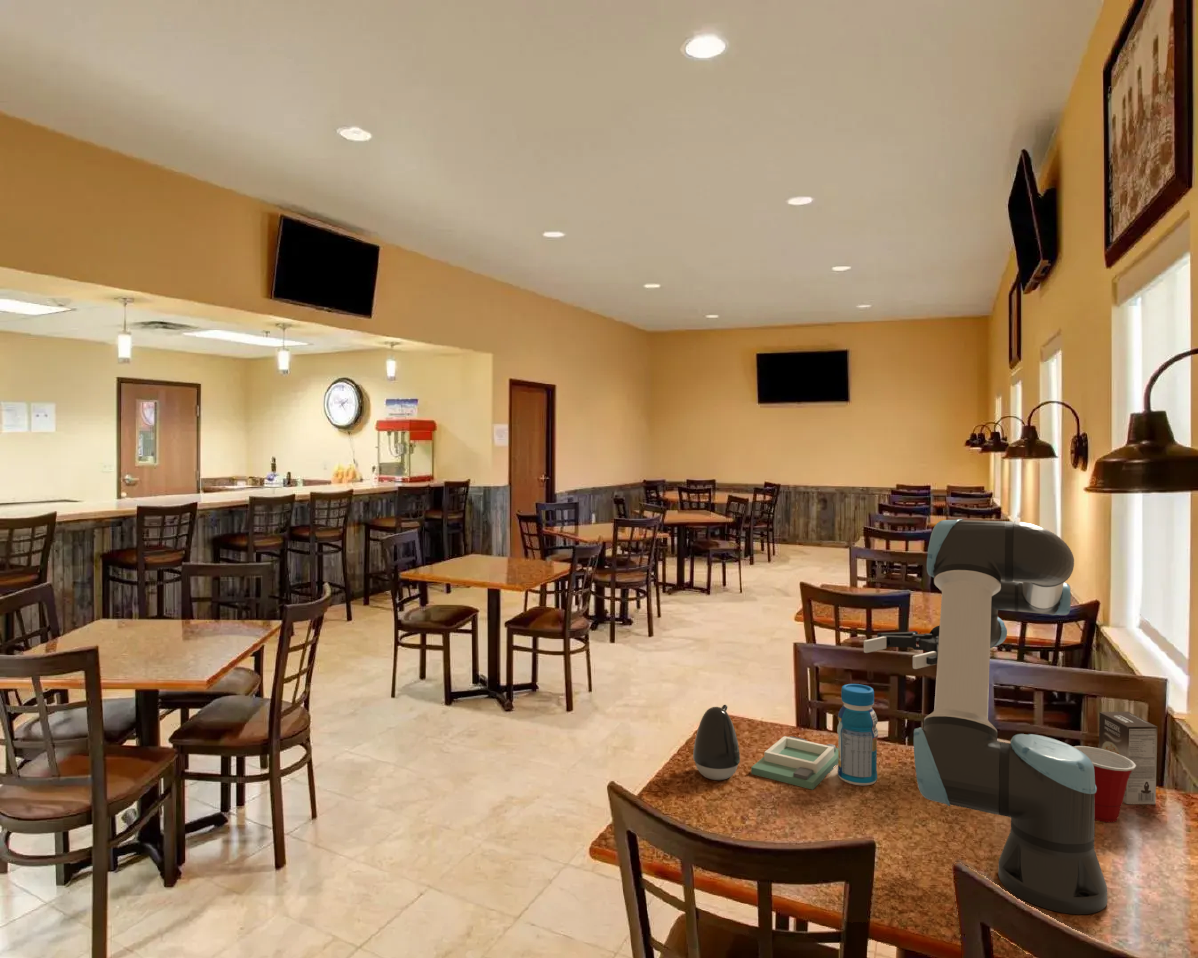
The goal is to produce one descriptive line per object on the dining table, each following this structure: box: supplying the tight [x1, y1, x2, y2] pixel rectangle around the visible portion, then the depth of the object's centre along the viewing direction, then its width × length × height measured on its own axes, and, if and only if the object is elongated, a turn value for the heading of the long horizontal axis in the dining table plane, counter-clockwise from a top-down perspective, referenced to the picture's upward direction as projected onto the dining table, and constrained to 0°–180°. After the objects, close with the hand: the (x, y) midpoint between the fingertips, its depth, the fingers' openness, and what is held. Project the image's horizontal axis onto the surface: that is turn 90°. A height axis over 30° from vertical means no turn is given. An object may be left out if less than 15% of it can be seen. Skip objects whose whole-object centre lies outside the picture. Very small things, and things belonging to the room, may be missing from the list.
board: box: [750, 735, 838, 791], centre depth 170 cm, size 22×14×4 cm, turn 145°
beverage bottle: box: [836, 683, 879, 786], centre depth 162 cm, size 8×8×20 cm
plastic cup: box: [1073, 745, 1136, 823], centre depth 145 cm, size 11×11×12 cm
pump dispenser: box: [692, 704, 741, 781], centre depth 164 cm, size 10×10×15 cm
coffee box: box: [1098, 711, 1158, 805], centre depth 154 cm, size 9×6×16 cm
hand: (888, 654), depth 165 cm, fingers open, 13 cm apart
